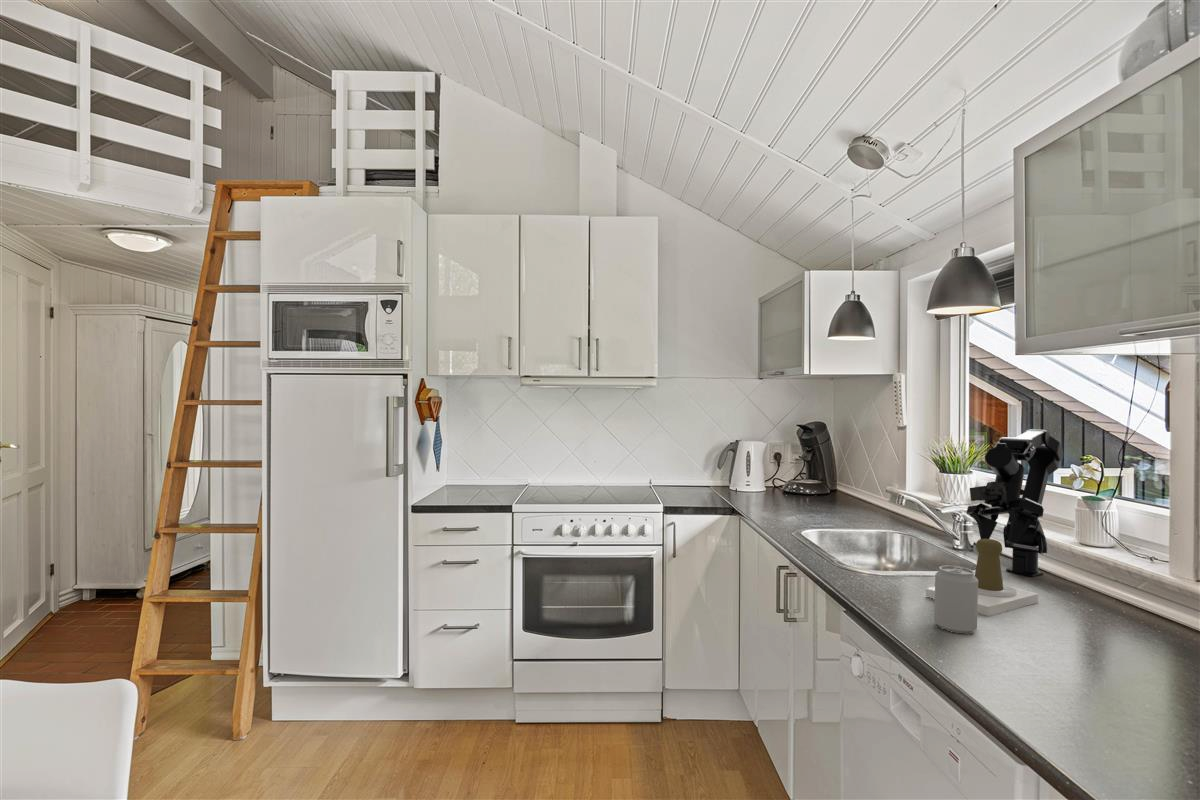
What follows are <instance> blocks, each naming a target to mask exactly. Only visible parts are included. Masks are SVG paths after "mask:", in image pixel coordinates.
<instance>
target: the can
mask: <svg viewBox="0 0 1200 800" xmlns="http://www.w3.org/2000/svg"><path fill="white" fill-rule="evenodd" d="M938 569H939V570H938V571H937V572H936V573H935V575H934V587H935V600H933V601H934V607H933V609H934V610H933V621H934V623H935V624H936V625H937V626H938V627H939V626H940V627H941V628H943V629H946V630H949V631H952V632H957V633H970V634H972V633H973V632H974V631H976V630H978V613H977V612H978V579H977V578H976V577H975V571H974V570H972V569H970V568H967V567H964V566H957V565H941V566H939V567H938ZM940 627H939V628H940ZM941 628H940V629H941ZM943 629H942V630H943ZM952 632H951V633H952ZM971 632H972V633H971ZM957 633H956V634H957Z"/></svg>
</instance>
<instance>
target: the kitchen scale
mask: <svg viewBox="0 0 1200 800" xmlns="http://www.w3.org/2000/svg"><path fill="white" fill-rule="evenodd" d="M1003 589H1004V590H1002V591H990V590H984V589H980V588H978V612H977V614H979V613H980V615H983V616H985V617H986V616H987V617H991V616H995V615H997V614H1002V613H1004V612H1005V613H1006V612H1009V611H1012V610H1017V609H1020V608H1023V607H1027V606H1032V605H1033V604H1034V605H1035V604H1038V603H1039V593H1036V592H1032V591H1029V590H1025V589H1022V588H1021V589H1020V588H1017V587H1013V586H1009V585H1007V584H1003ZM926 596H928V597H930V598H929V599H931V598H934V599H935V586H931V587H927V588H925V597H926ZM934 599H933V600H934Z"/></svg>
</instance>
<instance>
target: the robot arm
mask: <svg viewBox="0 0 1200 800" xmlns="http://www.w3.org/2000/svg"><path fill="white" fill-rule="evenodd" d="M1062 447H1063V446H1062V445H1061V442H1060V441H1058V440H1057V439H1056V438H1054V437H1053V436H1052V435H1050V432H1049V431H1048V430H1045V429H1038V428H1036V429H1035V428H1032V429H1031V428H1029V429H1026V430H1025V431H1024V432H1023V433H1021V434H1020V435H1017V436H1016V437H1015V436H1014V437H1006V436H1002V437H1000V438H999V441H997V442H996V443H995V445H994V446H993V447H992V448H991V449H988V451H987V453H985V456H984V459H985V463H986V464H987V465H988V467H990V470H991V471H992V472H993V473H994V474H995V480H994V481H988V482H987V483H986V484H985V485H983V486H975V487H973V486H972V487H969V495H970V501H971V502H976V501H984V502H983V503H982V502H980V503H973V504H970V505H968V506H967V508H966V515H969V516H970V517H971V518H972V519H974V520H975V522H976V524H977V528H978V534H979V540H980V539H991V536H992V534H993V532H994V530H995V529H996V527H997V524H998V521H997V520H998V519H999V516H1000V515H1004V514H1008V518H1007V519H1008V520H1007V522H1006V525H1004V527H1003V543H1004V548H1006V549H1007V548H1008V549H1012V556H1011V558H1012V562H1011V564H1012V565H1011V567H1007V568H1006V569H1005V571H1007V572H1011V573H1015V574H1021V575H1024V576H1027V577H1036V576H1040V575H1044V574H1045V572H1044V571H1041V570H1039V554H1048V542H1047V537H1046V536H1045V533H1044V530H1043V526H1042V524H1041V521H1040V519H1039V518H1043V517H1044V507H1043V500H1044V497H1045V493H1046V488H1047V485H1048V480H1049V476H1050V475H1052V473H1054V472H1055V471H1057V470H1058V468H1059V466H1060V463H1061V462H1063V458H1064V451H1063V448H1062ZM1018 461H1022V462H1026V464H1027V465H1028V468H1029V470H1028V473H1027V476H1026V481H1025V485H1024V489H1022V488H1023V487H1022V486H1023V482H1024V478H1025V477H1024V476H1025V471H1026V469H1025V467H1024V466H1023V464H1021V463H1020V462H1018ZM988 505H990V506H988ZM1043 573H1044V574H1043Z"/></svg>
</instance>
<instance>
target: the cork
mask: <svg viewBox="0 0 1200 800" xmlns="http://www.w3.org/2000/svg"><path fill="white" fill-rule="evenodd" d="M975 549H976V551H977V553H978V554H977V560H976V565H975V571H974V572H975V573H974V576H975V577H976V578H977V579H978V588H980V589H984V590H990V591H1002V590H1004V589H1003V585H1004V582H1003V576H1002V575H1003V574H1002V566H1001V560H1000V555H1001V554H1002V553H1003V546H1002V543H1001V542H1000V541H998V540H996V539H992V538H989V539H980V538H979V539H977V540H976V543H975Z"/></svg>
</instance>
